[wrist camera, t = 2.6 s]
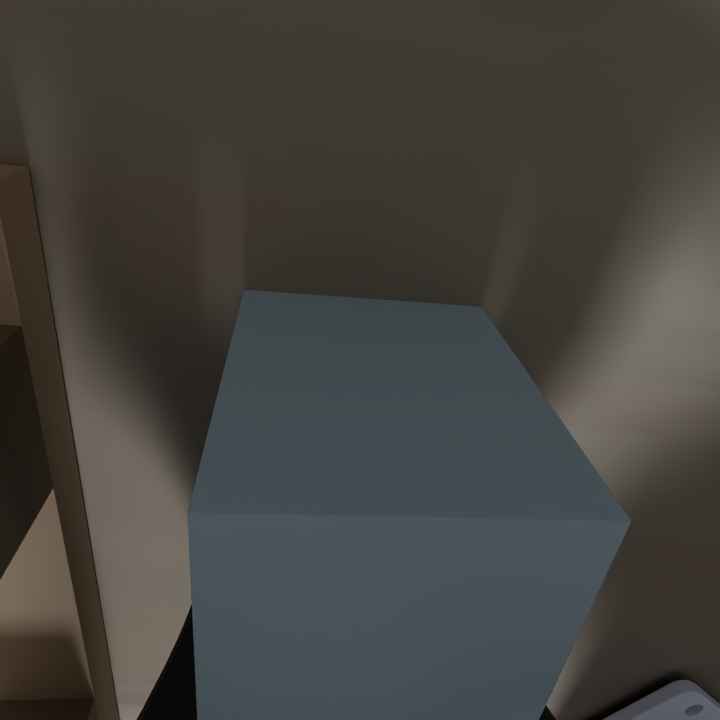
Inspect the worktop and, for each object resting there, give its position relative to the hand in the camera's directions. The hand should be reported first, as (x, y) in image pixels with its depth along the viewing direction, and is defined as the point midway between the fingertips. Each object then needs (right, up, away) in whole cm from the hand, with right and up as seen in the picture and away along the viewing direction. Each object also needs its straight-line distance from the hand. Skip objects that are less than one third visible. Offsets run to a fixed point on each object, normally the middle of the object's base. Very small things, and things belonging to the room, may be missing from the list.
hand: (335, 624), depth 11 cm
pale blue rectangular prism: (0, 0, +2) cm, 2 cm away
